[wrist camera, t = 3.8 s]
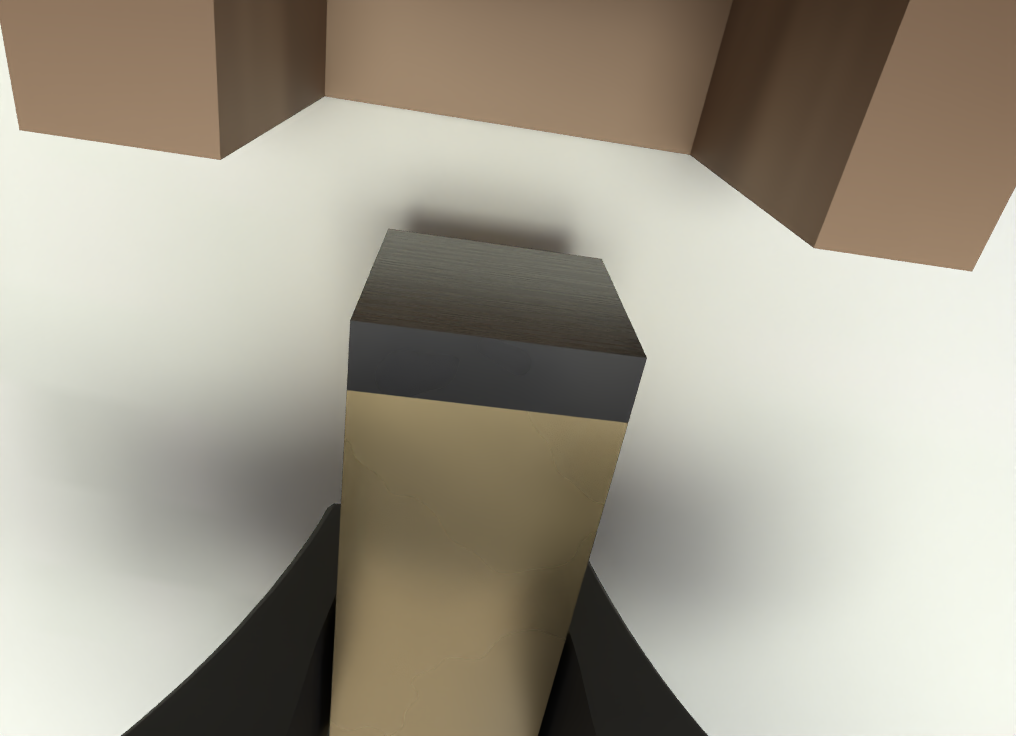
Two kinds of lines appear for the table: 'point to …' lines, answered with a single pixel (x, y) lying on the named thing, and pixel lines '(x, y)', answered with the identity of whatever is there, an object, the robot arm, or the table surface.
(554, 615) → the tube
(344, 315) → the table surface
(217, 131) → the socket block
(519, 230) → the table surface
